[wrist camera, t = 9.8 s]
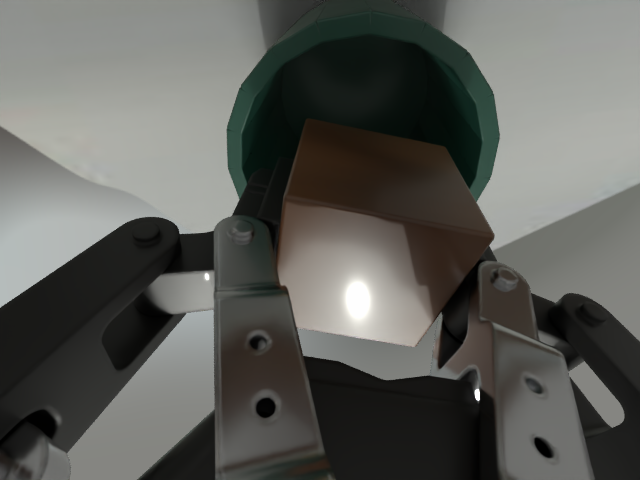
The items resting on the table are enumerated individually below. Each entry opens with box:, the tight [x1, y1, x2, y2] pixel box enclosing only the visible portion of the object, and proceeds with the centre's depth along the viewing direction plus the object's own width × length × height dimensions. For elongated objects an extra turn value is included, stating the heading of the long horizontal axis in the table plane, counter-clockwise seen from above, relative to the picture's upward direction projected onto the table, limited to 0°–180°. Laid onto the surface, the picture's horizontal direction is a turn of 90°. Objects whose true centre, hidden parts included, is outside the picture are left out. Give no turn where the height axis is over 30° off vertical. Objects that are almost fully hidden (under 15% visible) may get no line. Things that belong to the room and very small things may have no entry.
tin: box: [227, 0, 500, 202], centre depth 17 cm, size 10×10×10 cm
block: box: [276, 118, 494, 347], centre depth 10 cm, size 5×5×5 cm
